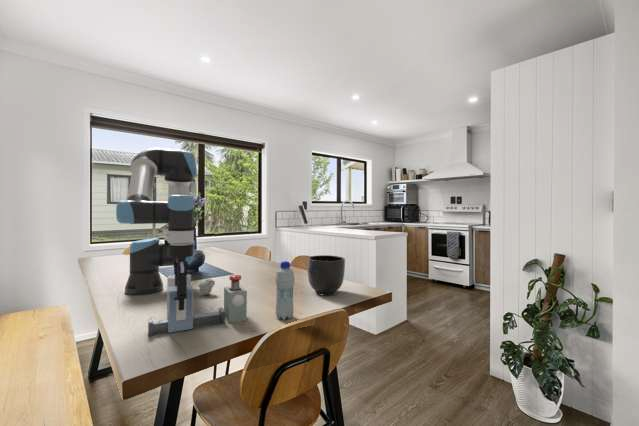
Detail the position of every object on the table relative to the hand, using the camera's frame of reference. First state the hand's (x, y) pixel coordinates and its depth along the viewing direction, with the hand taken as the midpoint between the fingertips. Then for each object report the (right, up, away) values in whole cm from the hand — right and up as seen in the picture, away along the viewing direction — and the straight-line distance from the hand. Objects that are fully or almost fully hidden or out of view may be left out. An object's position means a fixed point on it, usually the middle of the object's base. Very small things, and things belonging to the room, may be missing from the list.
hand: (180, 315), depth 98 cm
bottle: (+32, -4, +11) cm, 34 cm away
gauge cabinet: (+15, -4, +10) cm, 18 cm away
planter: (+47, -4, +43) cm, 64 cm away
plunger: (+15, +3, +10) cm, 18 cm away
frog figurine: (-5, -3, +37) cm, 38 cm away
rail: (+2, -4, +1) cm, 5 cm away
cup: (-10, -4, +20) cm, 22 cm away
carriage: (0, -4, 0) cm, 4 cm away
